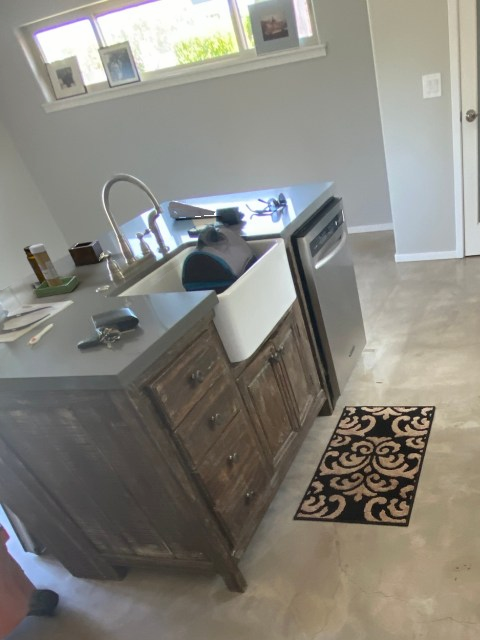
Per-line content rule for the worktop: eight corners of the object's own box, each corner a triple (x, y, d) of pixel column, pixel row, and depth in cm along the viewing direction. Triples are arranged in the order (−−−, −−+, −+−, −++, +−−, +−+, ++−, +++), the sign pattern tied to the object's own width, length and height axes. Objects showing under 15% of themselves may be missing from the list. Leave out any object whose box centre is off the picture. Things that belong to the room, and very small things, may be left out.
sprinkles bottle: (47, 289, 178) (25, 247, 169) (58, 284, 181) (37, 243, 172) (56, 290, 176) (34, 247, 167) (67, 285, 179) (46, 243, 170)
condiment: (60, 281, 187) (42, 245, 179) (36, 288, 183) (16, 252, 175) (57, 277, 191) (39, 242, 183) (33, 284, 188) (13, 248, 180)
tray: (37, 297, 175) (33, 290, 173) (47, 287, 182) (43, 281, 181) (70, 291, 175) (67, 284, 174) (79, 282, 183) (76, 275, 181)
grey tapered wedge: (226, 201, 241) (175, 198, 245) (218, 205, 235) (166, 202, 238) (230, 220, 246) (179, 216, 250) (222, 224, 240) (171, 221, 243)
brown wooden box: (75, 266, 201) (67, 249, 197) (82, 259, 207) (74, 243, 203) (99, 262, 201) (91, 245, 197) (105, 255, 208) (98, 239, 204)
